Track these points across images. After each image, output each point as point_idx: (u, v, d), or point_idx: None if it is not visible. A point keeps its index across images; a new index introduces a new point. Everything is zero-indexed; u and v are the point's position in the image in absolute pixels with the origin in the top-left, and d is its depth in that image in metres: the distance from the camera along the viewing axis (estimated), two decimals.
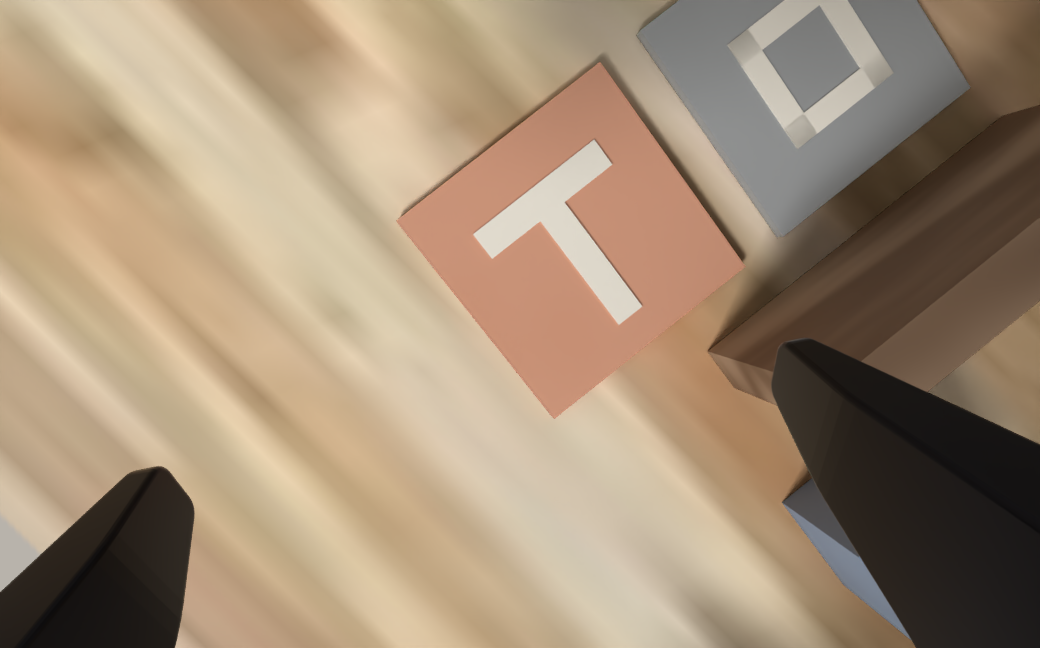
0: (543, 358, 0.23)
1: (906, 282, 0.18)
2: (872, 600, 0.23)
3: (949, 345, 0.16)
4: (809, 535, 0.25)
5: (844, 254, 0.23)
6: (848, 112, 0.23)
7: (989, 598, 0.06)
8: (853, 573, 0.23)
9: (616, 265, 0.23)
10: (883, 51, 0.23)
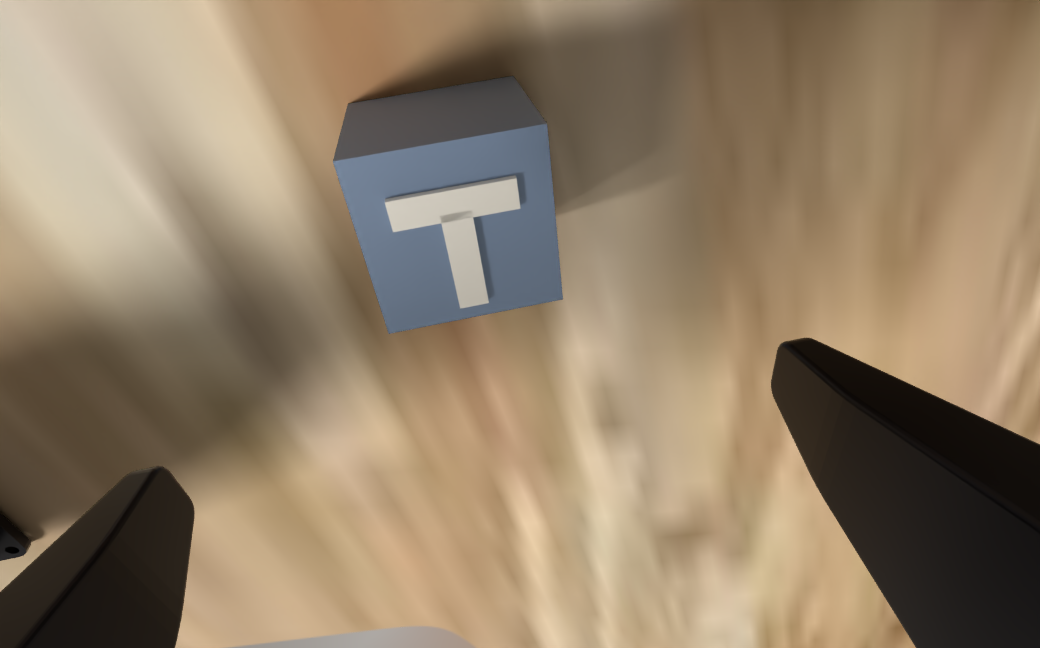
0: None
1: None
2: None
3: None
4: None
5: None
6: None
7: (989, 598, 0.06)
8: None
9: None
10: None
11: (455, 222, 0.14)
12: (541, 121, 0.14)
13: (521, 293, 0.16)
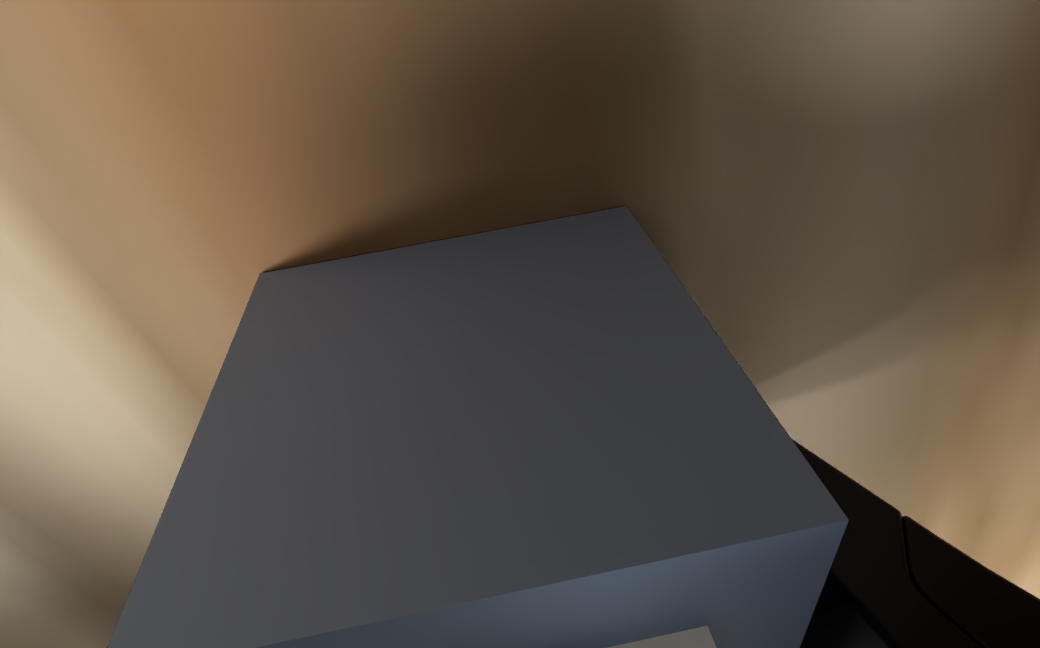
0: None
1: None
2: None
3: None
4: None
5: None
6: None
7: (802, 640, 0.06)
8: None
9: None
10: None
11: None
12: (817, 495, 0.04)
13: None
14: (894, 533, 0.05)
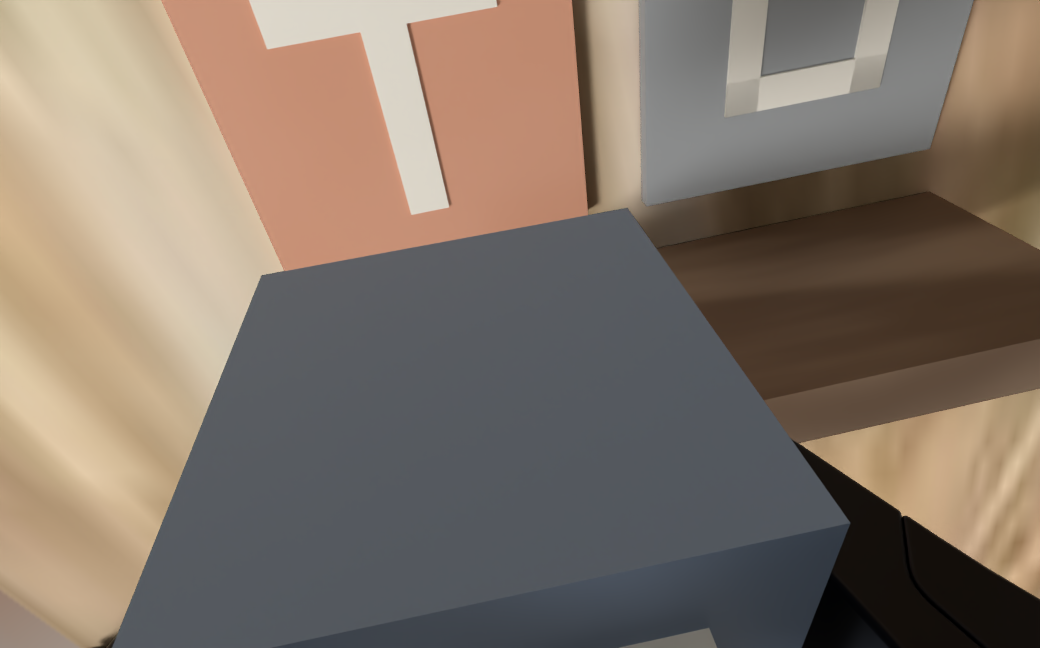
0: (299, 209, 0.17)
1: None
2: None
3: None
4: None
5: (690, 258, 0.20)
6: (804, 105, 0.18)
7: None
8: None
9: (440, 143, 0.17)
10: (890, 53, 0.17)
11: None
12: (819, 498, 0.04)
13: None
14: (894, 533, 0.05)
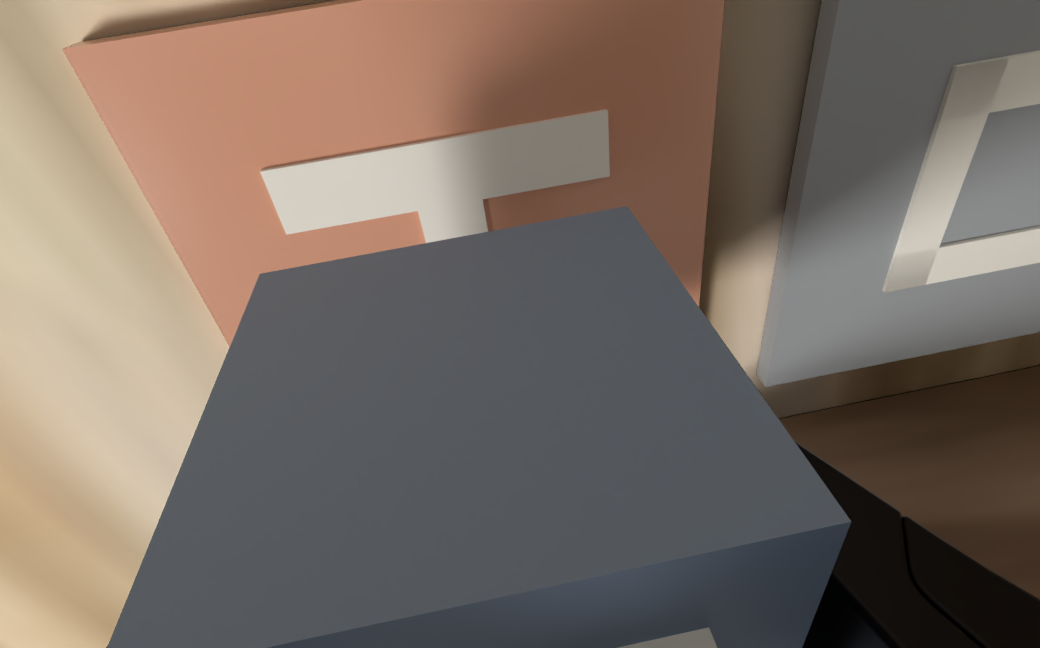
0: None
1: None
2: None
3: None
4: None
5: (812, 444, 0.16)
6: (984, 274, 0.14)
7: None
8: None
9: None
10: None
11: None
12: (819, 496, 0.04)
13: None
14: (894, 533, 0.05)
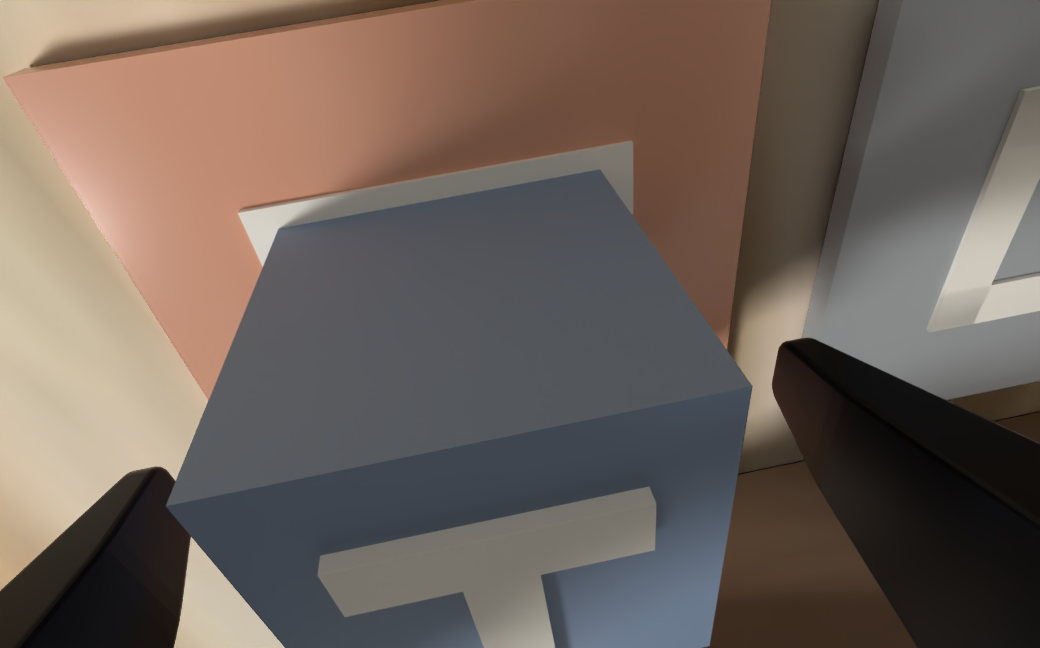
0: None
1: None
2: None
3: None
4: None
5: None
6: (1037, 312, 0.13)
7: (990, 597, 0.06)
8: None
9: None
10: None
11: (497, 586, 0.06)
12: (731, 371, 0.05)
13: None
14: None
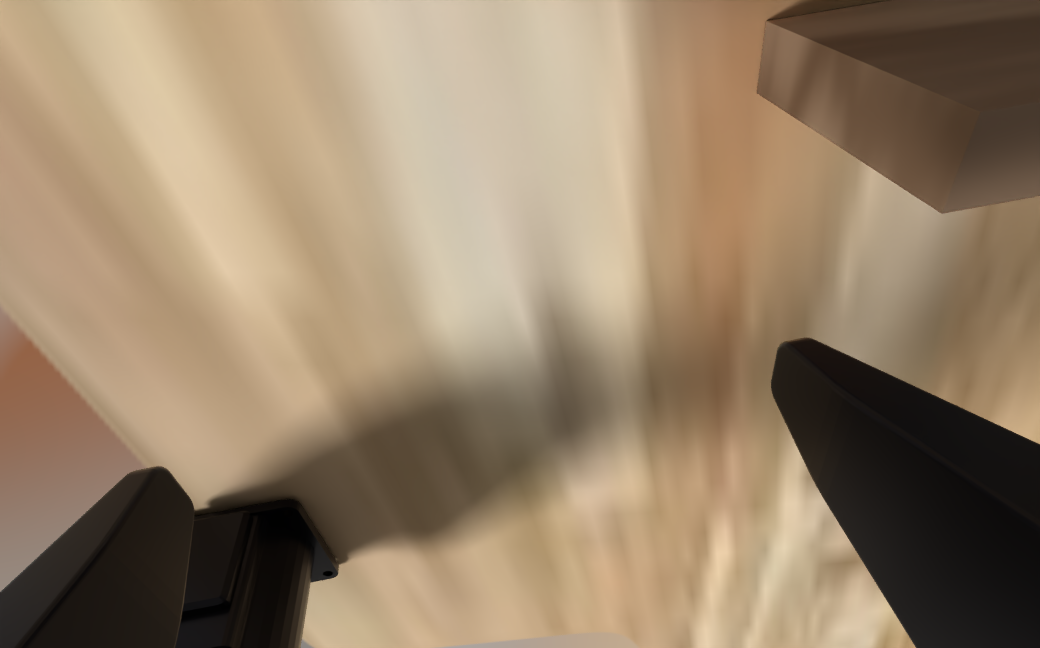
0: None
1: None
2: None
3: None
4: None
5: None
6: None
7: (989, 598, 0.06)
8: None
9: None
10: None
11: None
12: None
13: None
14: None
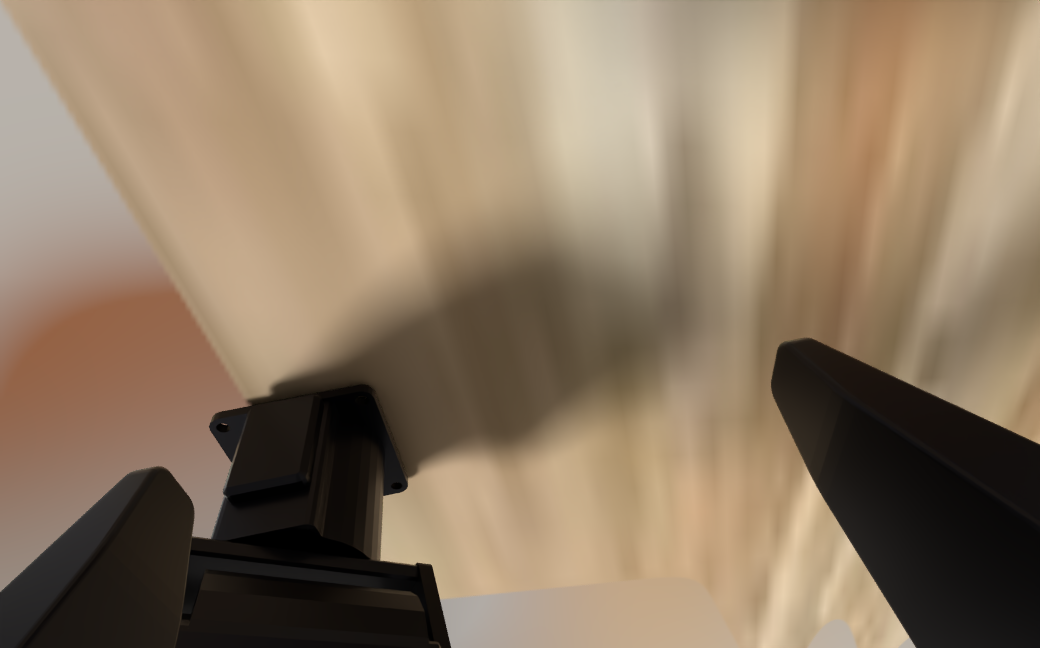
0: None
1: None
2: None
3: None
4: None
5: None
6: None
7: (989, 598, 0.06)
8: None
9: None
10: None
11: None
12: None
13: None
14: None
